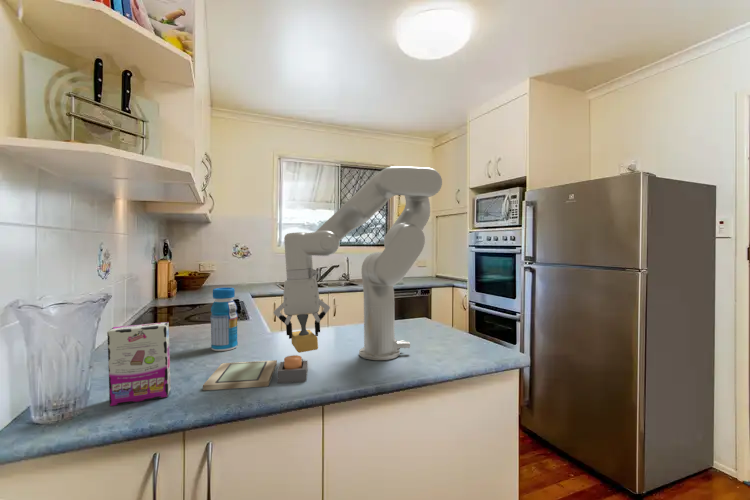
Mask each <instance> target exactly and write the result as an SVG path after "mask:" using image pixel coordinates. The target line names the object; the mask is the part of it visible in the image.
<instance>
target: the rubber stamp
mask: <svg viewBox="0 0 750 500" xmlns="http://www.w3.org/2000/svg"><path fill="white" fill-rule="evenodd" d="M296 318H297V320H298V322H299V325H300V328H301V330H298V331H292V338H291V345H292V346H293V348H294V349H295V351H296V352H297V353H306V352H311V351H317V350H318V349H319V342H318V336H315V333H314V332H312V331H311V330H310V329H306V328H307V327H306V326H307V322H308V318H309V314H301V315H296Z"/></svg>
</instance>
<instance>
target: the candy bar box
mask: <svg viewBox="0 0 750 500" xmlns="http://www.w3.org/2000/svg"><path fill="white" fill-rule="evenodd" d="M169 324H170V323H169V321H167V322H155V323H154V322H153V323H145V324H133V325H132V324H131V325H122V326H121V325H120V326H113V327H112V328H110V329H109V330H108V331H107V332H106V333H107V354H108V356H107V357H108V358H107V361H108V362H107V363H108V366H107V367H108V389H109V390H108V391H109V395H108V396H109V397H108V398H109V402H108V403H109V406H110V407H114V406H121V405H127V404H133V403H140V402H145V401H152V400H157V399H164V398H168V397H169V394H170V392H171V389H172V388H171V387H172V384H171V383H172V382H171V381H172V380H171V357H170V325H169Z"/></svg>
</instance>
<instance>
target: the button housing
mask: <svg viewBox="0 0 750 500" xmlns="http://www.w3.org/2000/svg"><path fill="white" fill-rule="evenodd" d="M276 373H277V374H276V375H277V378H276V379H277V384H286V383H287V384H289V383H302V382H303V383H304V382H307V380H308V360H302V368H301V369H284V361H281V362H280V363H279V366H278V369H277V372H276Z"/></svg>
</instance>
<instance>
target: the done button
mask: <svg viewBox="0 0 750 500" xmlns="http://www.w3.org/2000/svg"><path fill="white" fill-rule="evenodd" d="M302 359H303V358H302V356H301V355H297V354H296V355H294V354H293V355H287V356H285V357H284V360H283V362H284V369H301V368H302V361H303V360H302Z"/></svg>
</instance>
